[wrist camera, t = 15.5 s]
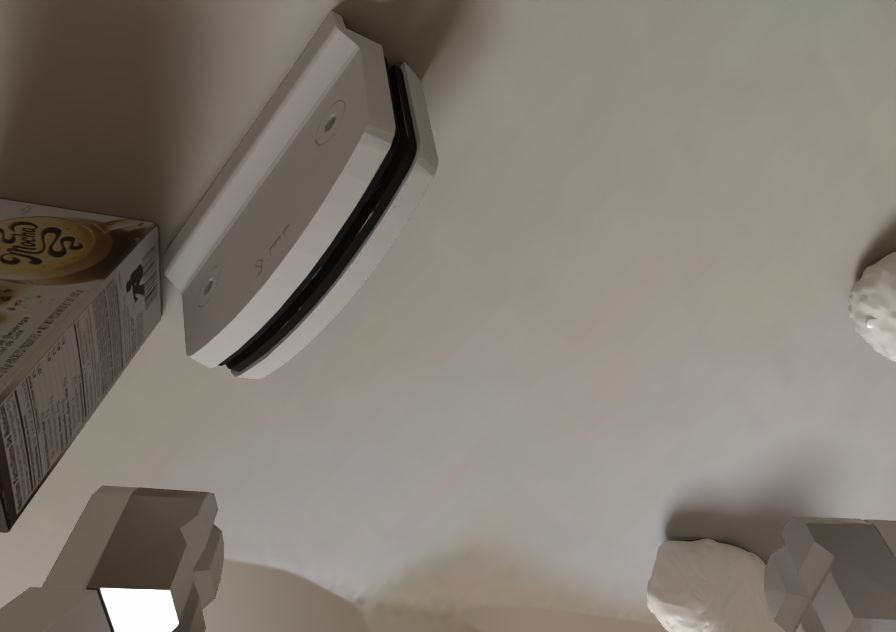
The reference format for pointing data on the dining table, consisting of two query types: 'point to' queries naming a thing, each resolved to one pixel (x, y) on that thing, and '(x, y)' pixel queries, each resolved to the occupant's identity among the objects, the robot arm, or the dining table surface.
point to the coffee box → (64, 330)
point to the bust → (709, 588)
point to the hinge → (303, 205)
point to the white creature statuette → (876, 306)
